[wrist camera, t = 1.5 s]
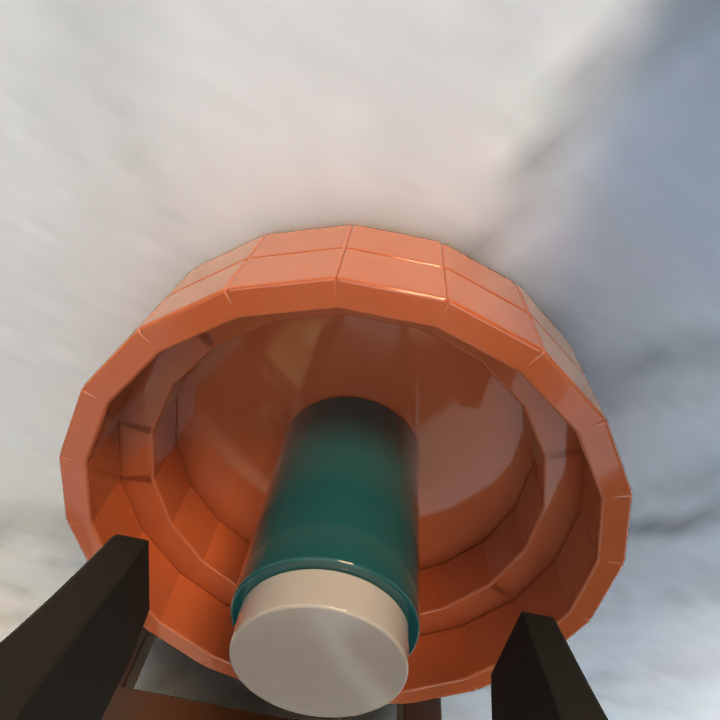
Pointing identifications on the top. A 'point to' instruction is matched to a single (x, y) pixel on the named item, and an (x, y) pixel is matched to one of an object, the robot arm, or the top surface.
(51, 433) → the top surface
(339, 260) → the bowl
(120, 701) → the chair
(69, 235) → the top surface
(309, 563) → the salt shaker
